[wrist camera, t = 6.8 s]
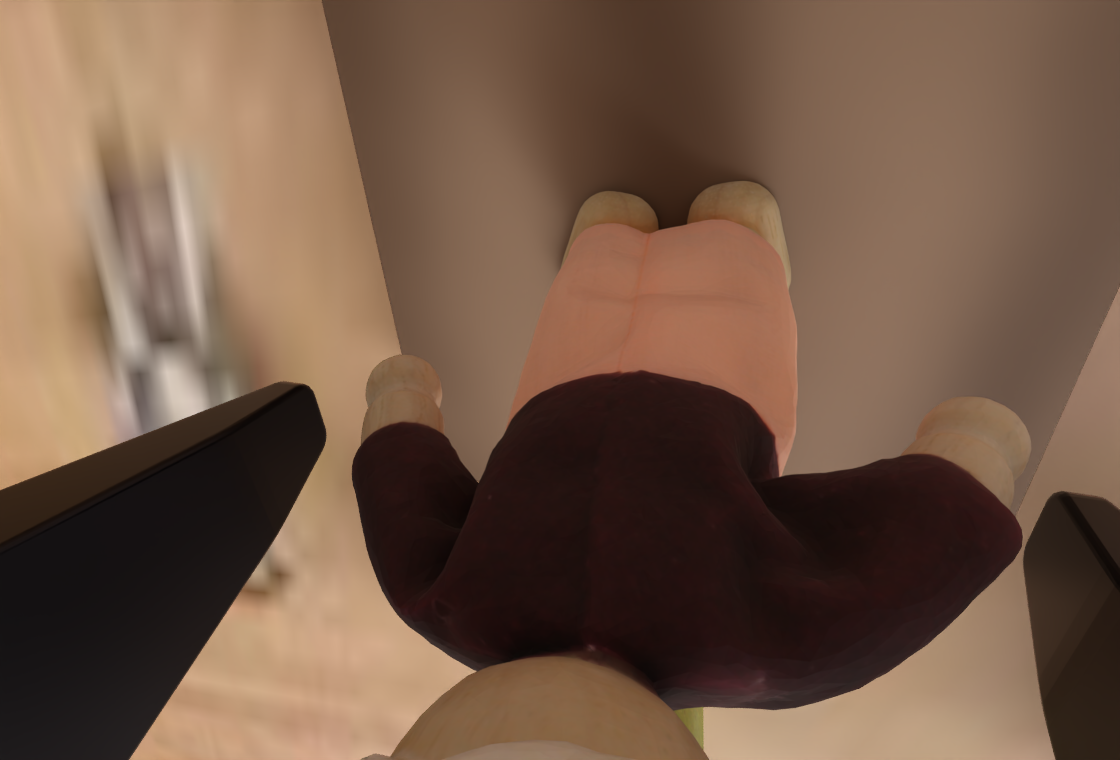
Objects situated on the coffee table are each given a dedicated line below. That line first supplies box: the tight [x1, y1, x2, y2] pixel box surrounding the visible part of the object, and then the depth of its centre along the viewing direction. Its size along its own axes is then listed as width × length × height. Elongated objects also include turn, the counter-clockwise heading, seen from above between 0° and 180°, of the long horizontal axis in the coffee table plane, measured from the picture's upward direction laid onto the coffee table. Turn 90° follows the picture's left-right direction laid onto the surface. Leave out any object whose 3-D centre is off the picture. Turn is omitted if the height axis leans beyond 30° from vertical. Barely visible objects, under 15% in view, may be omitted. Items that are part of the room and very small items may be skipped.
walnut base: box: [322, 0, 1120, 516], centre depth 14 cm, size 14×14×3 cm
